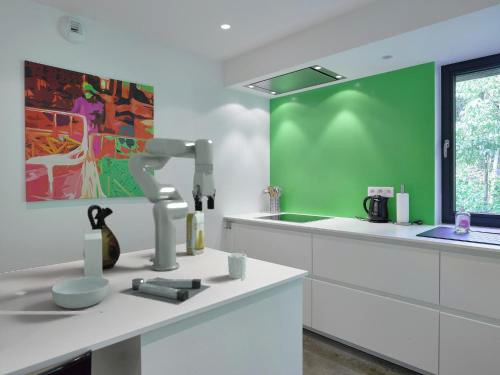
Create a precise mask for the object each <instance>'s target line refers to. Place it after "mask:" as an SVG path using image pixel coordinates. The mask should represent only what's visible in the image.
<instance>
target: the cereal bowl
mask: <svg viewBox="0 0 500 375" xmlns="http://www.w3.org/2000/svg"><path fill="white" fill-rule="evenodd" d="M110 284H111V283H110V280H109V279H108V278H104V277H102V278H100V277H77V278H76V277H75V278H72V279H71V278H70V279H66V280H63V281H61V282H59V283H56V284H55V285H54V286H53V287H52V288H51V297H52V298H51V299H53V302H54V303H55V304H56V305H57V306H59V307H62V308H65V309H73V310H74V309H83V308H88V307H91V306H95V305H96V304H98V303H100V302H102V301H103V300H105V298H106V297H107V296H108V293H109V290H110Z"/></svg>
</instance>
